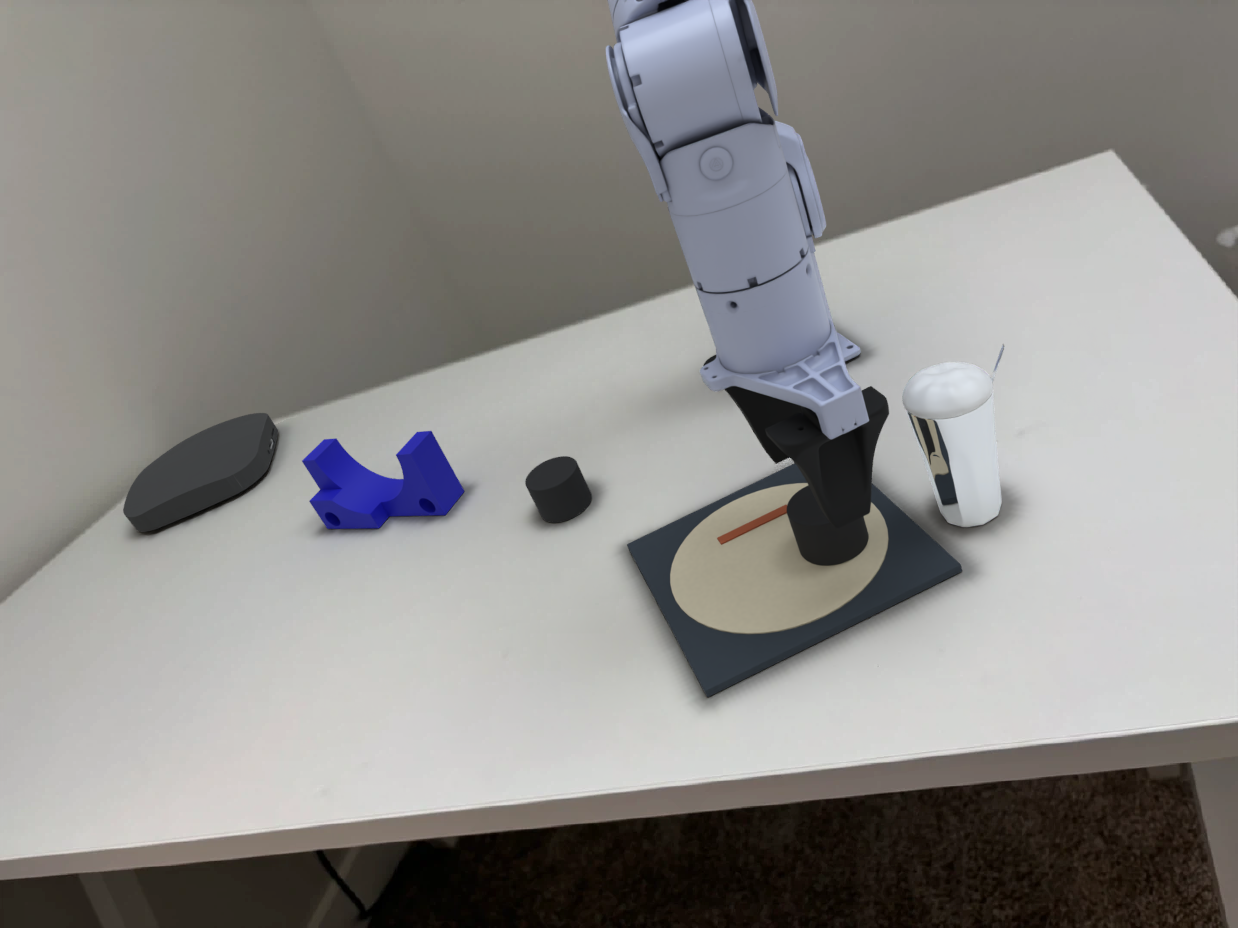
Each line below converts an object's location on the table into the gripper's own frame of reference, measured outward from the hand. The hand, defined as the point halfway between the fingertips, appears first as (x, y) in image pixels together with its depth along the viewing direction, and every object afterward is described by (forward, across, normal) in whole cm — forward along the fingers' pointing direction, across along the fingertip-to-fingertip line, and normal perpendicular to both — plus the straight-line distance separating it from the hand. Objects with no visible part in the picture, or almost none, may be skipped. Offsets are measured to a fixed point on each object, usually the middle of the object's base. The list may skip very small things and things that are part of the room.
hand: (817, 484), depth 53 cm
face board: (+5, -1, -3) cm, 6 cm away
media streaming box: (+5, -52, -45) cm, 69 cm away
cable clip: (+5, -28, -26) cm, 39 cm away
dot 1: (+5, -17, -13) cm, 22 cm away
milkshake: (+5, +2, +8) cm, 9 cm away
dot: (+4, 0, 0) cm, 4 cm away
